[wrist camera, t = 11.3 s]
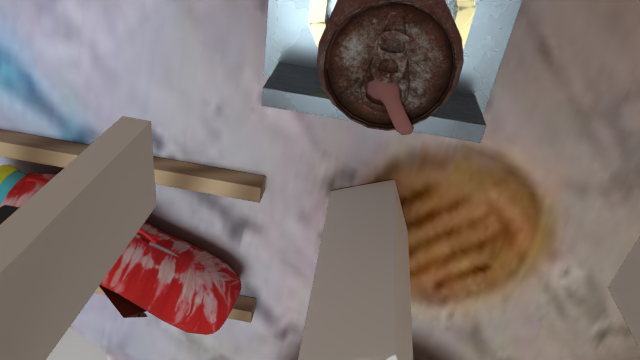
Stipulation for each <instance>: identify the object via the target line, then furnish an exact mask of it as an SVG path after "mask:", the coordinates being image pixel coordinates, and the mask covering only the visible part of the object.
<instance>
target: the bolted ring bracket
mask: <svg viewBox="0 0 640 360" xmlns="http://www.w3.org/2000/svg"><path fill="white" fill-rule="evenodd" d="M445 1H446V3H447V5H448V7H449V10H450V12H451V14H452V16H453V19H454V21H455V23H456V26H457V28H458V30H459V32H460V35H461V37H462V43H463V56H464V63H463V67H462V71H461V75H460V78H459V82H458V85H457V86H456V88H455V89H454V91H453V92H452V94H451V96H450V97H449V99H448V100H447V102H446V103H445V104H444V105H443V106H442V107H440V108H439V109H438V110H437V111H436V112H435V113H433V114H432V115H431V116H430V117H428V118H427V119H426V120H424V121H422V122H419V123H417V124H415V125H413V126H414V129H413V132H419V133H425V134H431V135H437V136H443V137H449V138H454V139H460V140H466V141H472V142H478V143H481V140H482V137H483V134H484V131H485V129H486V123H485V121H484V118H483V115H482V113H484V111H485V108H486V105H487V102H488V99H489V96H490V93H491V90H492V87H493V85H494V82H495V79H496V76H497V73H498V70H499V67H500V64H501V61H502V58H503V55H504V52H505V49H506V46H507V43H508V40H509V37H510V34H511V31H512V28H513V25H514V23H515V20H516V17H517V14H518V11H519V8H520V5H521V2H522V0H445ZM336 2H337V0H269V6H268V21H267V35H266V50H265V65H264V76H268V77H269V79H268V80H267V82H266V84H265V85H264V87H263V95H262V106H267V107H273V108H279V109H285V110H291V111H297V112H302V113H308V114H314V115H320V116H326V117H332V118H337V119H343V120H349V121H352V120H350V119H349V118H348V117H347V116H346V115H344V114H343V113H342V112H341V111H340V110H339V109H338V108H337V107H335V106H334V105H333V104H332V103H331V101H330V99H329V98H328V96H327V94H326V92H325V91H324V89H323V87H322V86H321V82H320V77H319V73H318V69H317V54H318V44H319V40H320V38H321V36H322V33H323V31H324V29H325V27H326V24H327V22H328V20H329V18H330V15H331V13H332V11H333V9H334V6H335V4H336ZM481 112H482V113H481Z"/></svg>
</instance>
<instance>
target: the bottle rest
mask: <svg viewBox="0 0 640 360" xmlns="http://www.w3.org/2000/svg"><path fill="white" fill-rule="evenodd" d="M88 146H90V145H86V144H80V143H75V142H69V141H63V140H58V139H52V138H46V137H41V136H35V135H29V134H24V133H18V132H12V131H7V130H1V129H0V156H1V157H7V158H13V159H18V160H24V161H29V162H35V163H41V164H46V165H52V166H57V167H63V168H65V167H66V166H67V165H68V164H69V163H70V162H72V161H73V160H74V159H75V158H76V157H77V156H78V155H79V154H81V153H82V152H83V151H84V150H85V149H86V148H87V147H88ZM153 160H154V175H155V184H158V185H164V186H169V187H175V188H180V189H186V190H192V191H197V192H203V193H208V194H214V195H220V196H225V197H231V198H236V199H242V200H248V201H253V202H259V203H260V201H261V198H262V196H263V193H264V191H265V179H266V176H261V175H256V174H250V173H244V172H239V171H233V170H228V169H222V168H216V167H211V166H205V165H199V164H194V163H188V162H182V161H177V160H171V159H165V158H160V157H154V156H153ZM94 293H97V294H102V295H106V294H105V293H104V292H103V290H102V289H101V288H100V287H99V286H98V288H97V289H96V291H95V292H94ZM255 306H256V298H251V297H245V296H240V295H239V296H238V299H237V301H236V303H235V305H234V307H233V309H232V311H231V312H230V314H229V316H228V318H230V319H235V320H240V321H246V322H251V321H252V317H253V314H254V311H255Z"/></svg>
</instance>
